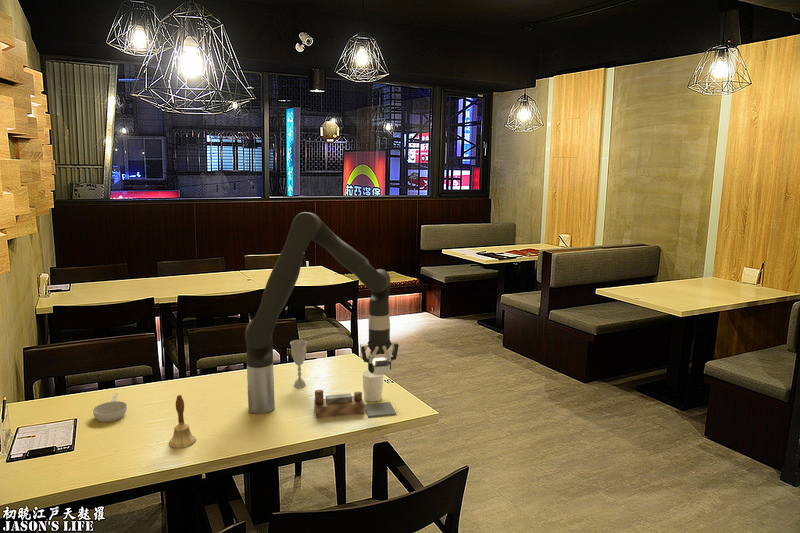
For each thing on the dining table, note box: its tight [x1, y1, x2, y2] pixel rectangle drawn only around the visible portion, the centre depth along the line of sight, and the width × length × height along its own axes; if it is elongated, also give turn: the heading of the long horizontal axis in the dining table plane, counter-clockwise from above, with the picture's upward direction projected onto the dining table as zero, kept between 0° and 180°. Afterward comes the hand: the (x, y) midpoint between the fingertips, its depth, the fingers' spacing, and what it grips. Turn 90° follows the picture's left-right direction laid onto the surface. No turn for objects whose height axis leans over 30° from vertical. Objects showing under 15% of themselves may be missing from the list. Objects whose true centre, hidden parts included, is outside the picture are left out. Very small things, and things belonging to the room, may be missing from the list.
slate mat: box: [364, 401, 397, 418], centre depth 211 cm, size 10×10×1 cm
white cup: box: [361, 369, 384, 402], centre depth 221 cm, size 8×8×10 cm
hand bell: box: [168, 394, 197, 449], centre depth 185 cm, size 8×8×16 cm
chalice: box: [289, 339, 308, 389], centre depth 232 cm, size 7×7×18 cm
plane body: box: [313, 389, 365, 419], centre depth 209 cm, size 17×7×8 cm, turn 104°
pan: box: [92, 392, 128, 423], centre depth 208 cm, size 11×18×4 cm, turn 16°
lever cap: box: [372, 356, 391, 376], centre depth 208 cm, size 9×6×4 cm, turn 14°
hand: (379, 371), depth 208 cm, fingers closed on lever cap, 5 cm apart
